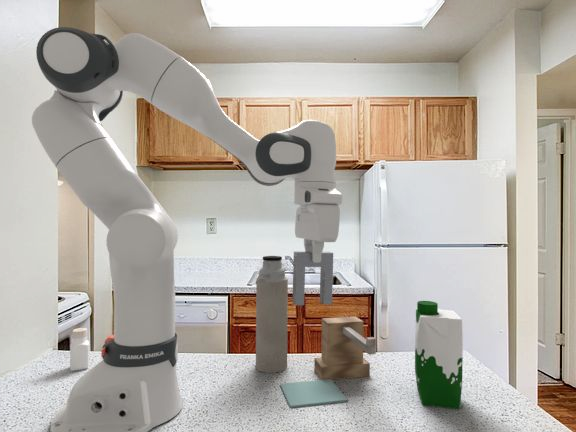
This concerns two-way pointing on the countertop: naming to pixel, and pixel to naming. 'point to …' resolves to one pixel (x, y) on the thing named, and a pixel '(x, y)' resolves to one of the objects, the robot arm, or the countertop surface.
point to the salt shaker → (79, 350)
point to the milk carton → (438, 355)
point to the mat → (312, 393)
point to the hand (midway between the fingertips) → (313, 261)
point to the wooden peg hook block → (343, 349)
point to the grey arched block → (325, 276)
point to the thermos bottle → (271, 316)
